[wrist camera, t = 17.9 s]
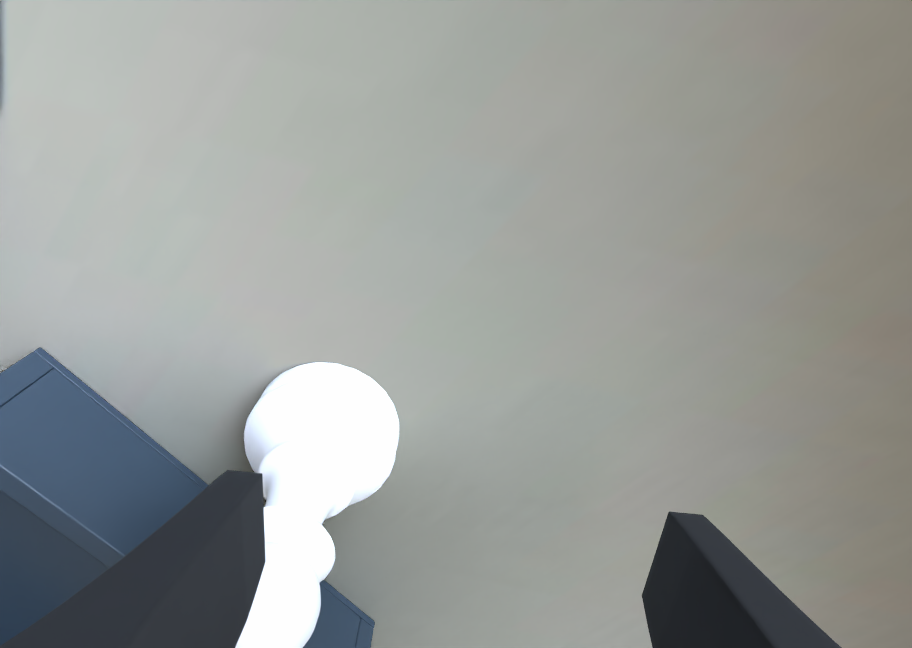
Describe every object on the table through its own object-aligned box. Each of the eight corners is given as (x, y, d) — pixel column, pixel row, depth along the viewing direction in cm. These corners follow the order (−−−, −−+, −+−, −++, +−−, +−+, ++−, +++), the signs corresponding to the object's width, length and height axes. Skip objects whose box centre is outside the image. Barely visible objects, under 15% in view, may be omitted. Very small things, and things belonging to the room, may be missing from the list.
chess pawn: (262, 347, 19) (112, 552, 11) (410, 372, 20) (370, 591, 11) (255, 467, 21) (122, 717, 13) (390, 489, 22) (343, 746, 13)
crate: (-171, 552, 23) (-299, 650, 20) (40, 346, 20) (-67, 416, 16) (155, 753, 28) (105, 864, 24) (375, 621, 25) (358, 727, 21)
